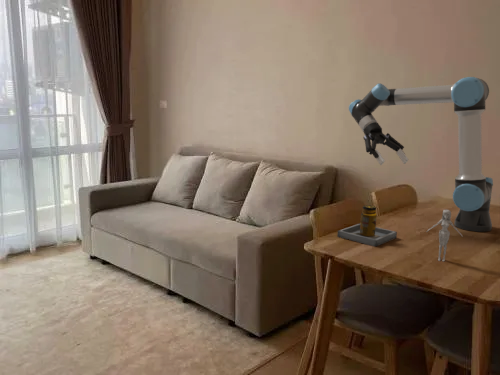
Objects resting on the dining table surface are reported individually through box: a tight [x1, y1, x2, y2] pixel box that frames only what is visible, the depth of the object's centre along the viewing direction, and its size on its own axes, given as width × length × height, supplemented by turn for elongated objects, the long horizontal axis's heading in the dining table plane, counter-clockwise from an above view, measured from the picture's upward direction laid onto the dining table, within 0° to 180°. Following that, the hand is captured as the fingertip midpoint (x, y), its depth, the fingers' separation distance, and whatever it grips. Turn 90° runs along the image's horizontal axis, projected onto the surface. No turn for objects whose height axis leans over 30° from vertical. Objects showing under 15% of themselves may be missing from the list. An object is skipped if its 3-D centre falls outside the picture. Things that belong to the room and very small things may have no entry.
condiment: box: [352, 204, 379, 238], centre depth 195 cm, size 7×8×12 cm
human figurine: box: [427, 209, 464, 262], centre depth 170 cm, size 12×4×18 cm, turn 64°
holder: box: [337, 222, 398, 247], centre depth 196 cm, size 17×17×2 cm
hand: (394, 162), depth 208 cm, fingers open, 13 cm apart
